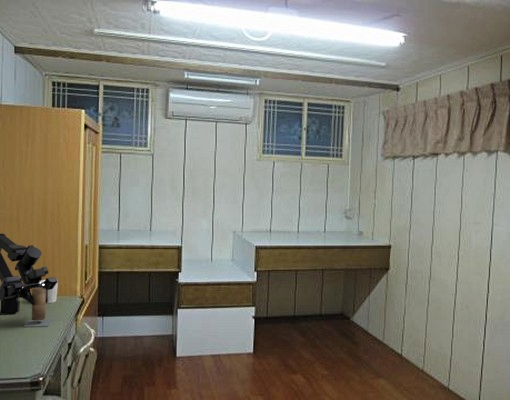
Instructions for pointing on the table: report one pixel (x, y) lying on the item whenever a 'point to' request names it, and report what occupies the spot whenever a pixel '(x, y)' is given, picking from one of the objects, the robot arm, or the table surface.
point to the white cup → (52, 293)
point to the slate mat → (38, 323)
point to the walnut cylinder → (39, 304)
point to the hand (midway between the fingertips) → (40, 303)
